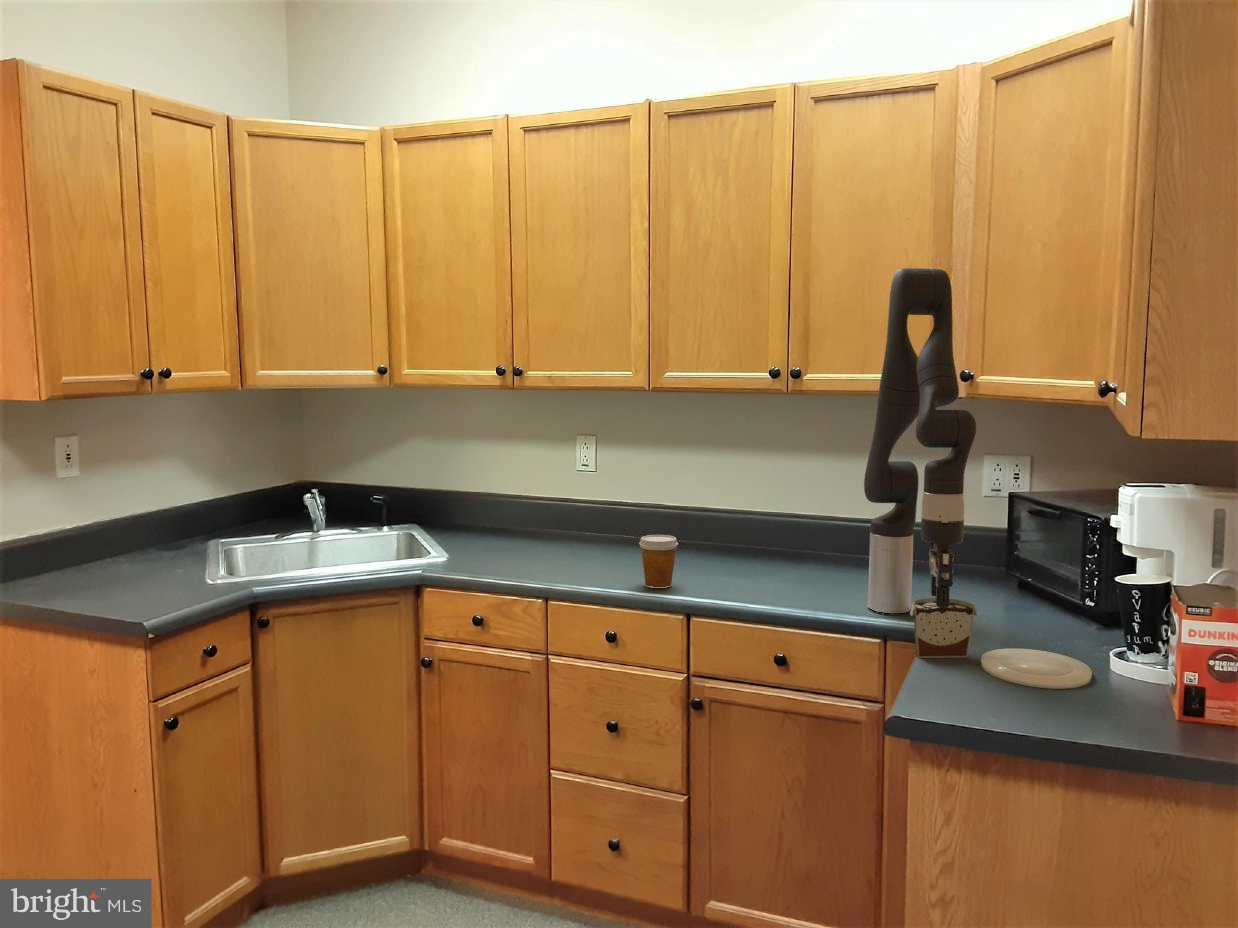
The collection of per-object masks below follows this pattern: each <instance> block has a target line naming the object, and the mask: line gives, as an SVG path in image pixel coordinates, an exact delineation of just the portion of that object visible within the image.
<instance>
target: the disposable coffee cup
mask: <svg viewBox="0 0 1238 928" xmlns="http://www.w3.org/2000/svg"><path fill="white" fill-rule="evenodd" d="M638 545H640V546H639V547H640V549H641V558H642V568H643V575H644V576H643V577H644V582H645V584H646V585H647V586H653V587H666V586H670V585H671V586H672V582H673V574H674V567H675V566H674V565H675V559H676V551H677V547H678V545H679V542H678V541H677V537H675V536H673V535H667V534H649V535H643V536H641V538H640V541H639V543H638ZM646 585H645V586H646Z"/></svg>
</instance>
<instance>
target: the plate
mask: <svg viewBox="0 0 1238 928" xmlns="http://www.w3.org/2000/svg"><path fill="white" fill-rule="evenodd" d="M980 659H981V660H980V667H981V668H982V670H984V671H985V673H987V674H988V675H991V676H993V677H995V678H998V679H1000V680H1003V681H1005V682H1009V683H1012V684H1016V685H1022V686H1026V687H1032V688H1040V689H1056V690H1057V689H1059V690H1061V689H1063V690H1064V689H1076V688H1081V687H1083V686H1087V685H1089V684H1090V683H1091V681H1092V676H1093V675H1092V674H1093V672H1092V669H1091V667H1089V666H1088V664H1086V663H1084V662H1082V661H1081V660H1078V659H1076V658H1073V657H1070V656H1067V655H1064V654H1061V653H1056V652H1051V651H1045V650H1039V649H1031V648H999V649H993V650H989V651H986V652H985V653H983V654H982V655H981V658H980Z"/></svg>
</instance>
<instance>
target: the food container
mask: <svg viewBox="0 0 1238 928" xmlns="http://www.w3.org/2000/svg"><path fill="white" fill-rule="evenodd" d="M909 615H910V616H911V617H913V622H914V623H913V624H914V638H915V639H914V641H915V654H916V655H915V656H916V657H917V658H918V659H920V658H922V659H923V658H925V659H927V658H928V659H929V658H930V659H932V658H933V659H934V658H935V659H936V658H968V657H969V649H970V642H971V636H972V630H973V629H972V628H973V623H974V617H975V616H976V617H977V616H978V613H977V608H976V604H973V603H971V602H969V601H965V600H960V599H956V598H949V606H948V607H947V608H944V607H937V605H936V597H924V598H918V599H915V600H913V603H912V604H911V611H910V612H909Z"/></svg>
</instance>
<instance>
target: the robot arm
mask: <svg viewBox="0 0 1238 928" xmlns="http://www.w3.org/2000/svg"><path fill="white" fill-rule="evenodd" d="M951 283H952V282H951V279H950V277H949V274H948V273H947V272H946V270H943V269H941V268H940V269H939V268H917V267H916V268H915V267H914V268H913V267H912V268H911V267H910V268H907V267H905V268H904V267H903V268H899V269H898V270H897V271H895V273H894V275H893V277H892V280H891V283H890V284H891V285H890V290H889V291H890V292H889V304H888V316H887V332H886V333H887V334H886V343H885V344H886V345H885V351H884V357H883V363H882V368H881V369H882V370H881V376H880V381H879V388H878V395H877V406H876V413H875V423H874V428H873V429H874V430H873V435H872V440H871V444H870V449H869V454H868V457H867V458H868V459H867V463H866V468H865V473H864V480H863V481H864V482H863V490H864V491H863V492H864V495H865V498H866V499H867V500H868V502H870V503H873V504H874V503H875V504H894V507H893V508H891V510H889V511H887V512H886V513H884V514H882V515H880V516H878V517H877V516H876V517H874V518H873V519H872V520H871V522H870V525H869V533H870V534H869V555H868V556H869V559H868V561H869V562H868V563H869V564H868V589H867V591H868V592H867V608H868V607H869V608H870V609H872V610H875V611H878V612H886V613H904V612H909V611H910V610H911V607H912V587H913V586H912V585H913V584H912V583H913V564H914V563H913V562H914V561H913V558H914V557H913V556H914V534H915V533H914V532H915V531H914V530H915V525H916V521H917V520H916V519H917V517H916V516H917V504H918V503H917V502H918V496H919V495H918V493H919V473H918V469H917V467H916V464H915V463H914V462H912V461H908V460H907V461H906V460H890V457H891V454H892V451H893V448H894V446H895V445H896V444H897V442H898V440H899V439H900V438H901V436H903V434H904V433H905V432H906V431H907V429H908V428H909V427H910V426H911V425H913V423H914V421H915V420H916V424H915V437H916V440H917V441H918V442H919V444H921V446H923V447H924V448H930V449H931V448H932V449H935V448H941V449H942V448H945V449H948V448H949V449H951V450H950V451H949V453H948V454H947V456H945V457H942V458H939V459H933V460H931V461H928V462H927V463H925V466H924V472H923V476H924V477H923V478H924V479H923V496H922V502H921V517H920V518H921V520H920V521H921V523H920V525H921V526H920V538H921V541H922V542H926V543H929V544H930V549H929V553H928V556H929V560H928V567H929V569H928V570H929V571H930V572H929V574H930V576H931V580H930V582H931V583H930V595H931V596H932V597H935V598H936V605H937V607H944V608H947V607H948V606H949V599H950V591H951V590H950V588H951V587H953V584H954V582H953V574H954V553H953V551H952V550H951V545H957V544H961V543H962V542H963V541H964V528H965V527H964V526H965V524H964V523H965V499H964V484H965V471H966V466H967V462H968V459H969V455H970V452H971V449H972V447H973V443H974V441H975V437H976V434H977V422H976V418H975V417H974V415H973V413H971V412H970V411H968V410H966V409H938V408H941V407H945V406H949V405H950V404H953V403H955V402H956V401H957V399H958V398H959V394H960V390H959V389H960V388H959V382H958V377H957V376H958V375H957V371H956V370H957V369H956V365H955V358H954V348H953V346H954V345H953V341H954V340H953V339H954V338H953V333H954V332H953V326H954V325H953V324H954V323H953V294H952V293H953V292H952V284H951ZM909 315H910V316H932V319H933V328H932V330H931V332H930V334H929V336H928V338H927V339H926V341H925V342H924V345H923V346H922V348H921V350H920V352H919V355H917V353H916V351H915V349H914V347H913V345H912V342H911V339H910V337H909V336H910V335H909V332H908V317H909ZM945 578H946V579H945ZM870 609H869V610H870ZM872 610H871V611H872ZM878 612H877V613H878ZM909 613H910V612H909Z"/></svg>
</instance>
